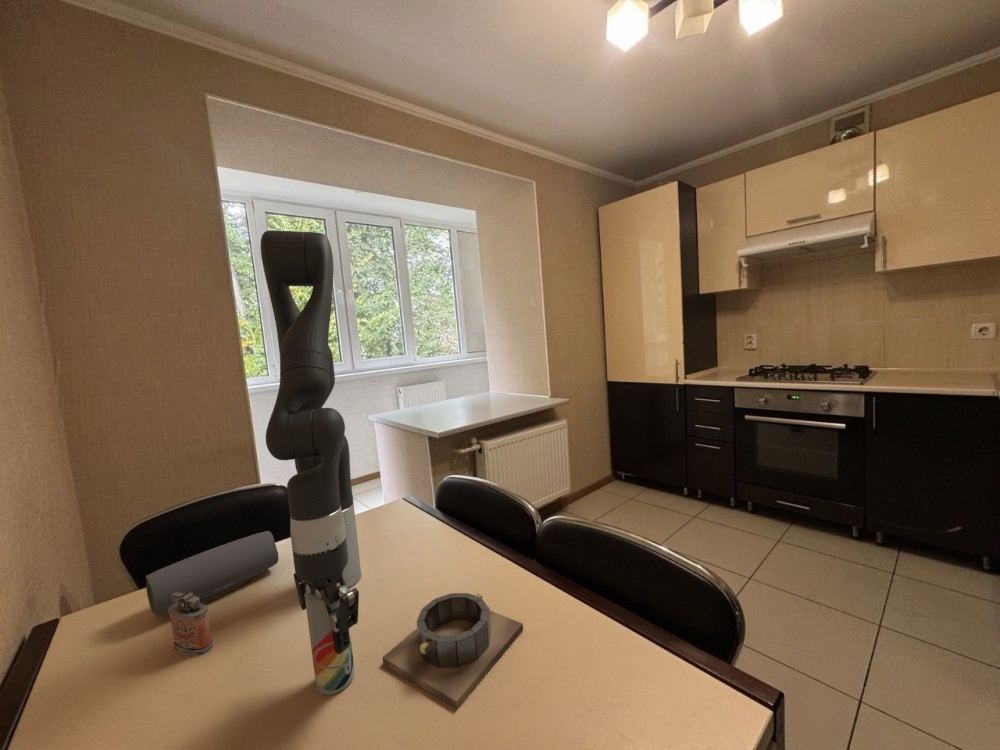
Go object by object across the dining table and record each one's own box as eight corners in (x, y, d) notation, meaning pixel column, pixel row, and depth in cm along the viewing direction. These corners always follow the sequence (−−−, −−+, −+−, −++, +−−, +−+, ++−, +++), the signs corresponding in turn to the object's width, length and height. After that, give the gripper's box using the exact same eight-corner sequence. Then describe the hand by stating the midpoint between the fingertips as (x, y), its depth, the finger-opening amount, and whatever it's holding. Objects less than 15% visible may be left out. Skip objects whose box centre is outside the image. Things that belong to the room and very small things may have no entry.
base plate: (383, 664, 68) (382, 656, 67) (456, 600, 83) (456, 593, 83) (457, 709, 58) (456, 699, 58) (524, 627, 74) (524, 620, 74)
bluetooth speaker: (266, 562, 103) (261, 524, 102) (281, 574, 97) (276, 534, 96) (149, 612, 86) (142, 566, 85) (158, 630, 80) (150, 582, 79)
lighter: (218, 644, 75) (211, 592, 74) (199, 658, 72) (191, 604, 71) (187, 636, 78) (180, 586, 77) (168, 649, 74) (160, 597, 74)
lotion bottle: (341, 697, 62) (326, 571, 60) (308, 693, 63) (292, 569, 61) (361, 667, 67) (348, 550, 65) (330, 664, 68) (316, 549, 66)
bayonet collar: (398, 655, 68) (395, 630, 67) (457, 603, 80) (455, 582, 79) (453, 686, 61) (450, 658, 60) (508, 625, 73) (506, 601, 72)
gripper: (270, 539, 64) (283, 641, 65) (324, 563, 56) (337, 679, 57) (315, 519, 70) (326, 613, 71) (369, 538, 62) (381, 644, 63)
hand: (331, 642), depth 64 cm, fingers closed on lotion bottle, 5 cm apart
